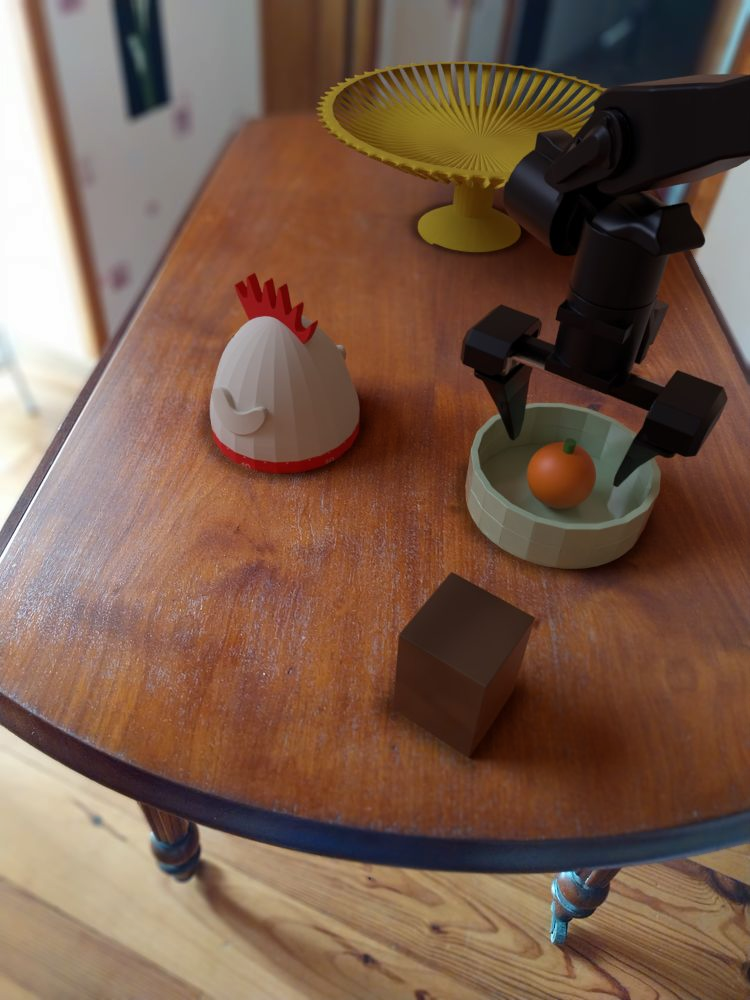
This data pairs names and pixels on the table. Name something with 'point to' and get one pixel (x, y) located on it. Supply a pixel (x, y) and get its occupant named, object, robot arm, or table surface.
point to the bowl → (550, 531)
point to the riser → (459, 662)
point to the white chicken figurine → (282, 388)
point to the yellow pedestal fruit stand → (456, 140)
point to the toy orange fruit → (561, 474)
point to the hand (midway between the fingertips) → (564, 459)
